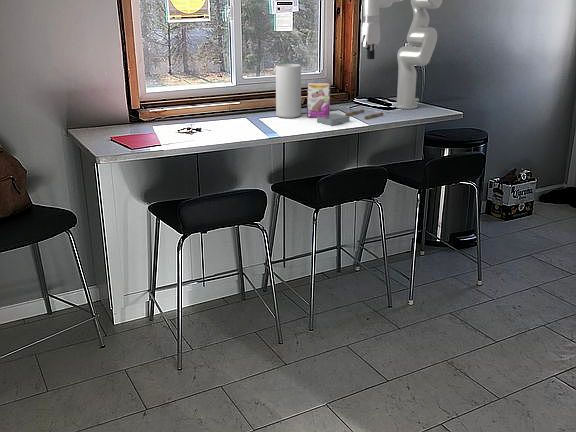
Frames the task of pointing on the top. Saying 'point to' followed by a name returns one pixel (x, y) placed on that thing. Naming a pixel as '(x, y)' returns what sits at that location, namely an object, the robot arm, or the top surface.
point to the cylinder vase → (288, 90)
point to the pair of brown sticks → (365, 116)
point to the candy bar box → (318, 99)
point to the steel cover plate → (333, 119)
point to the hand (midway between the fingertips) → (370, 58)
